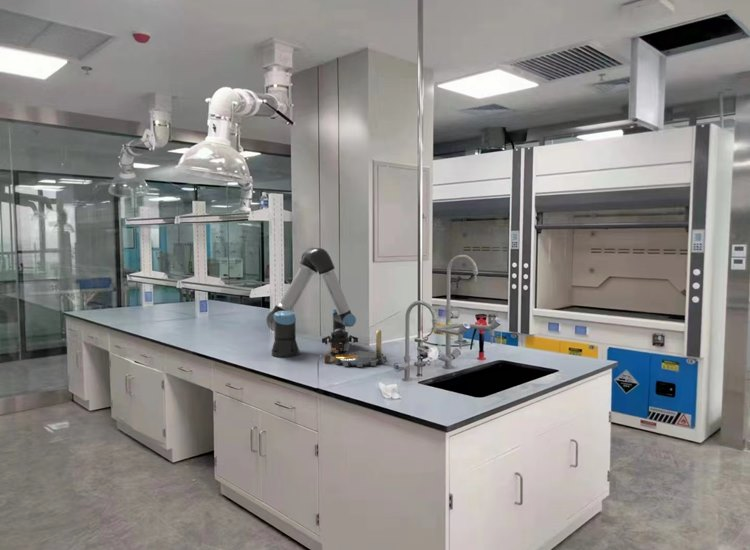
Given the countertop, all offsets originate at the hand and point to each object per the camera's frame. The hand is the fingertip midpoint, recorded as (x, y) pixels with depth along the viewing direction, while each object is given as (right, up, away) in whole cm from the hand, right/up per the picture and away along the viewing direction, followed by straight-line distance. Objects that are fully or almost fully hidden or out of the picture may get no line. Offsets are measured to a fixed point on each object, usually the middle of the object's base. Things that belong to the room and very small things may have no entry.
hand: (340, 343), depth 285 cm
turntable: (+11, -7, -16) cm, 21 cm away
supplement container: (0, -7, +2) cm, 7 cm away
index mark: (-5, -8, -17) cm, 20 cm away
